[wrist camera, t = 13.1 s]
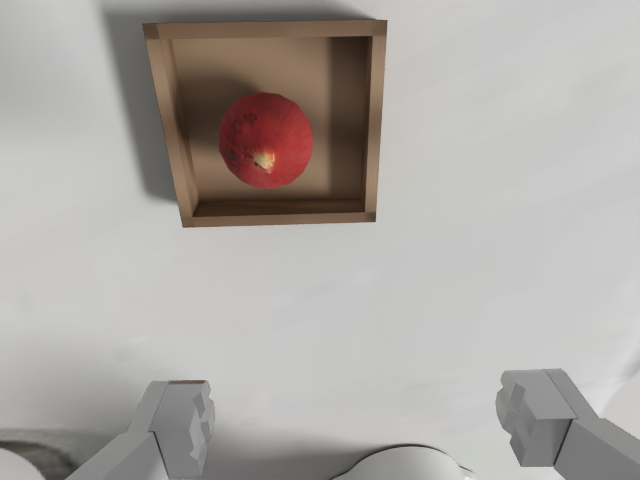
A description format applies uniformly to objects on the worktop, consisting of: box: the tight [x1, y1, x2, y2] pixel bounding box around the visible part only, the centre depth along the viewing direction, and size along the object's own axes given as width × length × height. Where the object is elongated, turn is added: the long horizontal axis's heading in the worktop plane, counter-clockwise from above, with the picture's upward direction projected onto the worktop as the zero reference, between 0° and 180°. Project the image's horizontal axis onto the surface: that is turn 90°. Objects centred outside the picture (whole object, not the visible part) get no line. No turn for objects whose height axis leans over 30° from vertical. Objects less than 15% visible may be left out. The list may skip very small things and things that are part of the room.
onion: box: [219, 92, 313, 189], centre depth 25 cm, size 6×6×8 cm
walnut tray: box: [142, 20, 387, 228], centre depth 28 cm, size 13×14×4 cm
